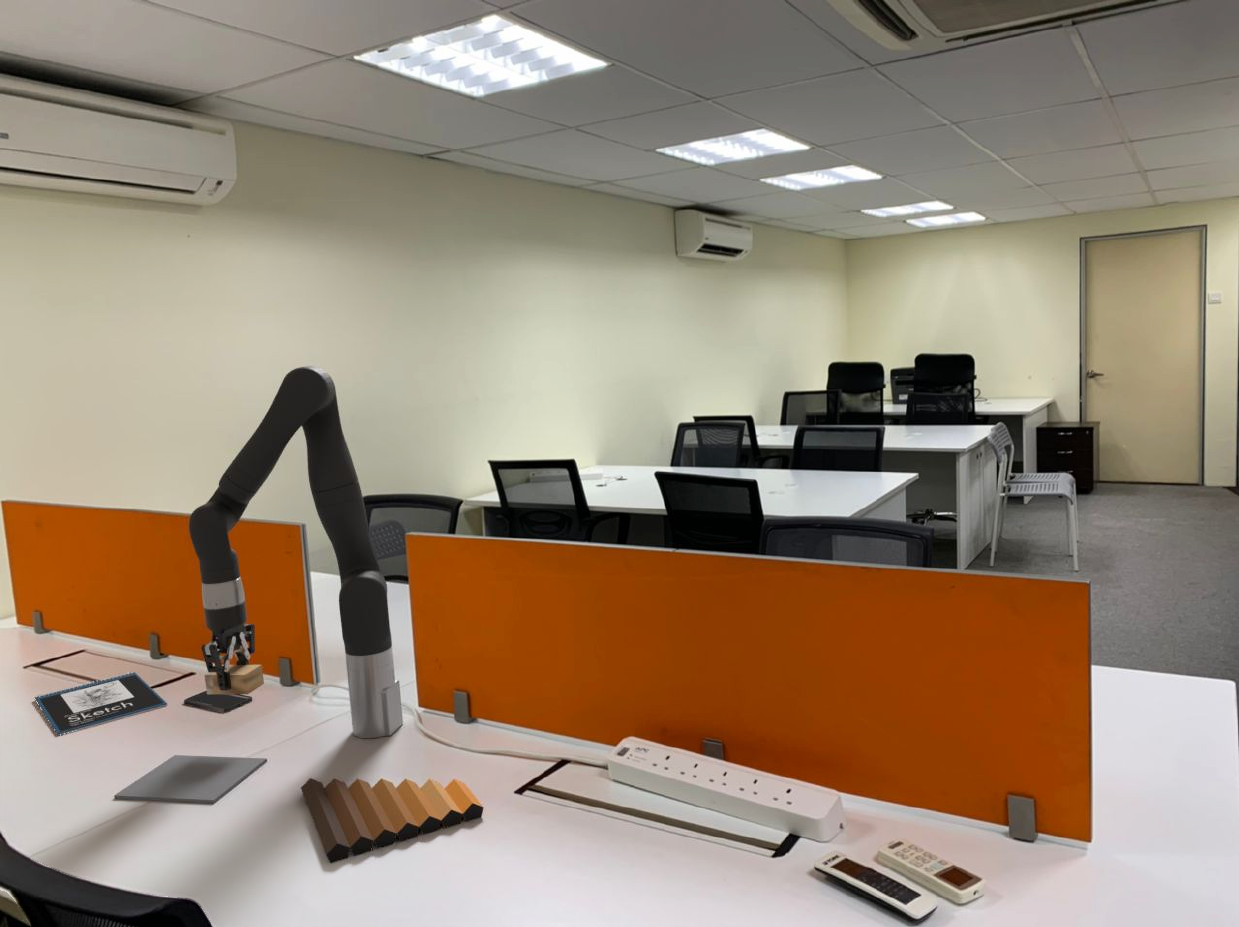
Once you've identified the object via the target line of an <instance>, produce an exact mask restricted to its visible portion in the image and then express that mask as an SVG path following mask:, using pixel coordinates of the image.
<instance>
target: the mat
mask: <svg viewBox="0 0 1239 927" xmlns="http://www.w3.org/2000/svg"><path fill="white" fill-rule="evenodd" d="M267 762H268V759H267V758H262V757H240V756H239V757H235V756H211V755H210V756H209V755H208V756H206V755H183V754H182V755H180V754H174V755H173V756H171V757H170V758H168V759H167V760H165V761H164V762H162V763H161V764H159V765H158V766H156V767H155V768H153V769H152V770H150V771H149V772H147V773H146V774H145V775H143V776H141V777H140V778H138V779H137V780H135V781H134V782H132V783H131V784H129V785H127V786H126V787H125V788H123V789H121V790H120V791H119V792H117V793H116V794H114V796H113V798H114V799H115V800H116V799H118V800H134V801H135V800H138V801H154V802H155V801H156V802H175V803H176V802H178V803H180V802H181V803H193V804H194V803H197V804H215V803H217V802H218V801H220V799H222V798H223V797H224V796H225V795H226V794H228V793H229V792H230V791H232V790H233V789H235V788H236V787H237V786H239V784H241V783H242V782H243V781H245V780H246V779H247V778H248V777H250V776H251V775H252V774H253V773H254V772H256V771H257V770H259V768H260V767H262V766H263V765H264V764H266V763H267Z"/></svg>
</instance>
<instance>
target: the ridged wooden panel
mask: <svg viewBox="0 0 1239 927" xmlns="http://www.w3.org/2000/svg"><path fill="white" fill-rule="evenodd" d="M300 790H301V792H302V795H303V798H304V801H305V803H306V805H307V808H308V811H309V813H310V816H311V819H312V821H313V825H314V826H315V830H316V832H317V835H318V837H319V839H320V843H321V845H322V848H323V850H324V853H325V855H326V857H327V861H328V862H329V863H330V864H333V863H336V862H340V861H342V860H343V861H344V860H346V859H348V858H349V854H350V850H351V852H352V853H353V856H354V857H356V856H360V855H364V854H366V853H369V852H372V850H373V847H374V846H373V845H374V844H375V846H376V848H377V849H378V850H379V849H383V848H385V847H388V846H391V845H395V843H396V839H397V837H398V839H399V840H400V842H401V843H402V842H405V841H408V840H411V839H412V840H413V839H415V838H417V837H418V834H419V830H420V832H421V833H422V836H423V835H424V836H425V835H429V834H431V833H434V832H438V831H440V827H441V826H442V827H443V828H444V829H448V828H452V827H454V826H458V825H461V823H462V818H463V819H464V821H465V822H466V823H468V822H471V821H473V820H478V819H480V818H482V816H483V812H484V806H483V804H482V803H481V802H480V801H479V800H478V798H477V797H476V795H474V793H473V792H472V791H471V789H470V788H469V787H468V785H467V784H466V783H465V782H462V781H460V780H458V779H455V778H453V779H452V780H450V782H449V783H448V785H446V787H444V786H443V785H442V783H441V782H438V781H436V780H434V779H431V778H429V779H427V780H426V781H425V783H424V784H423V785H422V786H421V787H420V786H419V784H418V783H417V782H416V781H412V780H410V779H408V778H404V779H403V780H402V781H401V782H400V783H399V784H398V786H396V787H395V785H394V783H393V782H391V781H390V780H386V779H384V778H380V779H379V780H378V781H377V782H376V783H375V784H374V785H373V786H371V785H370V783H369V782H368V781H365V780H364V779H361V778H356V779H355V780H354V781H353V782H352V783H351V784H350V785H349V787H348V786H347V784H346V782H345V781H343V780H340V779H337V778H332V780H330V782H328V784H326V785H325V786H324V785H323V782H322V781H319V780H318V779H314V778H312V777H310V778H309V779H307V781H306V782H305V783H303V785H301V787H300Z"/></svg>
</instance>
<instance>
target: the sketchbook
mask: <svg viewBox="0 0 1239 927" xmlns="http://www.w3.org/2000/svg"><path fill="white" fill-rule="evenodd" d="M35 699H36V701H37V702H38V704H39V706H40V707H41V709H42V711H43V712H44V714H45V715H44V714H43V715H44V717H45V716H46V717H47V719H48V720H49V722H50V723H49V722H48V723H49V725H50V724H51V725H52V726H53V728H54V729H55V731H56V732H55V731H54V732H55V734H56V733H57V734H58V735H60V734H64V733H68V732H72V731H75V730H79V731H81V730H80V729H83V730H85V729H84V728H86V729H89V728H88V727H90V728H92V727H91V726H93V727H97V726H100V725H104V724H108V723H110V722H114V721H118V720H121V718H122V719H126V718H130V717H133V716H136V715H139V714H143V712H144V713H146V712H150V711H153V710H158V709H161V708H165V707H167V706H168V703H167V701H165V700H164V698H162V697H161V696H160V694H158V693H157V692H156V691H155V690H154V689H153V688H152V687H151V686H150V685H149V684H148V683H147V682H146V681H145V680H144V679H142V677H141V676H140V675H139V674H137V673H136V671H135V672H132V671H127V674H126V673H125V672H124V673H123V675H122V674H121V673H120V674H119V675H118V674H115V677H114V676H113V675H112V677H111V678H110V676H108V677H107V679H106V678H105V677H104V679H103V680H102V678H100V680H99V681H98V679H96V681H94V680H92V682H91V683H90V681H88V683H86V682H84V684H82V683H80V685H78V684H77V685H76V686H75V687H74V685H72V687H70V686H68V687H67V689H66V687H64V689H62V688H60V689H59V690H58V689H56V690H55V692H54V690H52V691H51V693H50V692H49V691H48V692H47V694H46V693H45V692H44V693H43V694H42V695H41V694H40V693H39V694H37V696H35V697H34V700H35ZM39 706H38V707H39ZM41 709H40V710H41ZM42 711H41V712H42ZM43 712H42V713H43ZM46 717H45V718H46ZM125 717H126V718H125ZM47 719H46V720H47ZM48 720H47V721H48ZM107 722H108V723H107ZM51 725H50V726H51ZM52 726H51V727H52ZM53 728H52V729H53ZM54 729H53V730H54ZM75 732H76V731H75ZM72 733H73V732H72ZM57 734H56V735H57ZM68 734H69V733H68ZM58 735H57V736H58Z"/></svg>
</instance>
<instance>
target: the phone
mask: <svg viewBox="0 0 1239 927" xmlns="http://www.w3.org/2000/svg"><path fill="white" fill-rule="evenodd" d="M252 702H253V697H252V696H249V695H246V694H207V690H205V691H201V692H199V693H197V694H195V695H192V696H190V697H187V698H185V699H183V704H184V705H186V706H192V707H196V708H200V709H204V710H209V711H214V712H217V713H230V712H231V711H234V710H236V709H238V708H240V707H243V706H245V705H248V704H250V703H252Z"/></svg>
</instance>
